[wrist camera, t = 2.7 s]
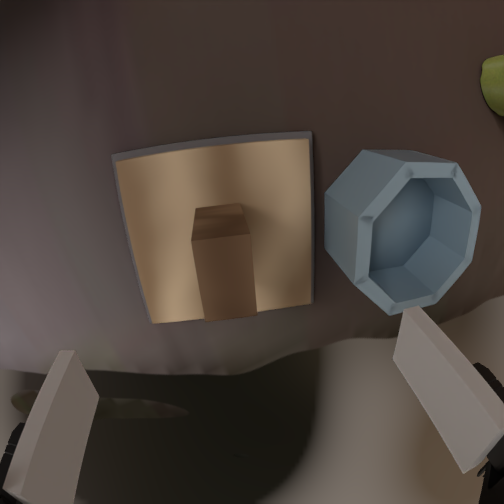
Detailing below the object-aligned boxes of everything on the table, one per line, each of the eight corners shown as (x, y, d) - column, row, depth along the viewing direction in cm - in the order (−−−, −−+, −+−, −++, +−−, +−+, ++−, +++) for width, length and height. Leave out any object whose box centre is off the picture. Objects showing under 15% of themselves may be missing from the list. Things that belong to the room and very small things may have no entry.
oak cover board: (153, 318, 25) (142, 375, 19) (118, 160, 20) (82, 179, 14) (307, 298, 26) (334, 350, 20) (305, 138, 21) (344, 148, 15)
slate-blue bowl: (323, 283, 26) (349, 324, 21) (323, 150, 22) (359, 162, 16) (426, 265, 27) (463, 296, 22) (438, 151, 23) (485, 164, 17)
